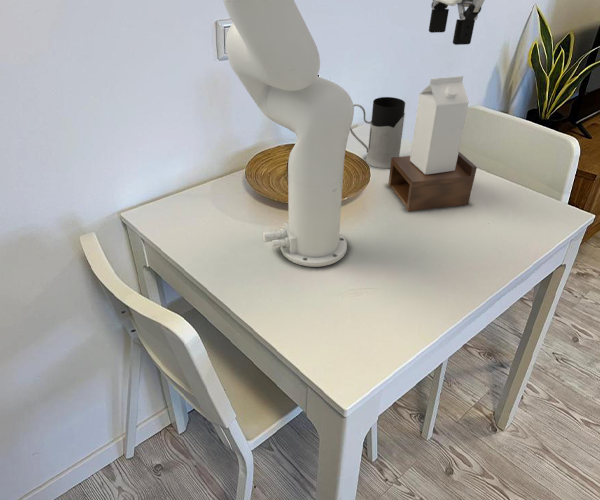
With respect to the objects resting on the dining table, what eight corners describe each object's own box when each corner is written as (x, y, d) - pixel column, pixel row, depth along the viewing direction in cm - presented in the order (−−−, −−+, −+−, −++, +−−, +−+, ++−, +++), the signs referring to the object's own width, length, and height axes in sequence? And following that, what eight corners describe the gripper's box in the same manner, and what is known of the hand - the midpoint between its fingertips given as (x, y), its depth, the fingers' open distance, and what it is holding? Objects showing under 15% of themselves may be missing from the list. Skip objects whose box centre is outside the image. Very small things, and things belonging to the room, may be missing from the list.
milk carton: (409, 161, 113) (422, 73, 102) (438, 157, 114) (453, 71, 103) (425, 175, 107) (440, 84, 96) (454, 171, 109) (473, 81, 98)
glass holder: (398, 170, 125) (406, 110, 116) (341, 163, 127) (344, 104, 119) (401, 155, 132) (409, 97, 123) (347, 149, 134) (350, 92, 126)
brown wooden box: (408, 211, 109) (414, 173, 103) (388, 185, 118) (392, 149, 113) (468, 204, 111) (477, 167, 106) (443, 179, 121) (450, 144, 116)
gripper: (424, -76, 90) (410, 28, 100) (473, -70, 76) (451, 50, 86) (463, -75, 91) (445, 27, 101) (518, -70, 78) (491, 48, 87)
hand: (448, 37), depth 93 cm, fingers open, 9 cm apart
